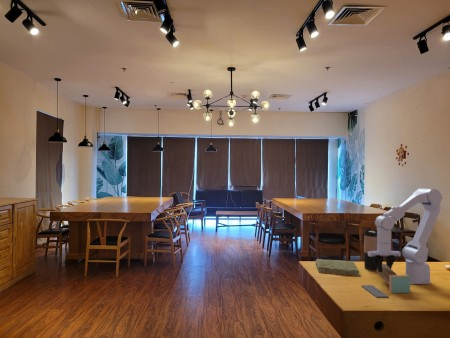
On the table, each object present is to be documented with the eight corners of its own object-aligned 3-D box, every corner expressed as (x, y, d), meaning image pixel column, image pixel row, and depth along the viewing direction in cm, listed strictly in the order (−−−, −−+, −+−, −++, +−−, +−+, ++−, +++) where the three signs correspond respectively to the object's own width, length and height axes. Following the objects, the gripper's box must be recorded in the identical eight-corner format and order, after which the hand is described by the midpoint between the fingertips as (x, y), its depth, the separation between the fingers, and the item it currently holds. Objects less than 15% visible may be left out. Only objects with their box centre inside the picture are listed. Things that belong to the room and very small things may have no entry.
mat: (372, 286, 144) (372, 285, 144) (388, 297, 131) (388, 296, 131) (361, 286, 144) (361, 285, 144) (376, 297, 131) (376, 296, 131)
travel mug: (367, 265, 176) (367, 229, 176) (382, 269, 170) (382, 230, 170) (361, 268, 171) (361, 230, 171) (376, 272, 165) (376, 232, 165)
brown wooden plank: (383, 272, 153) (385, 263, 152) (398, 286, 141) (399, 277, 140) (376, 272, 153) (377, 263, 152) (390, 286, 141) (391, 277, 140)
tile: (407, 291, 138) (407, 275, 139) (410, 293, 136) (410, 276, 137) (389, 291, 138) (389, 275, 138) (392, 293, 136) (392, 276, 136)
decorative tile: (315, 264, 181) (315, 257, 181) (353, 266, 177) (353, 259, 177) (317, 274, 162) (317, 267, 162) (360, 277, 158) (360, 270, 158)
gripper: (394, 240, 154) (394, 268, 154) (364, 240, 153) (364, 269, 153) (403, 243, 147) (403, 273, 147) (372, 243, 146) (372, 273, 146)
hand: (384, 271), depth 150 cm, fingers closed on brown wooden plank, 3 cm apart
